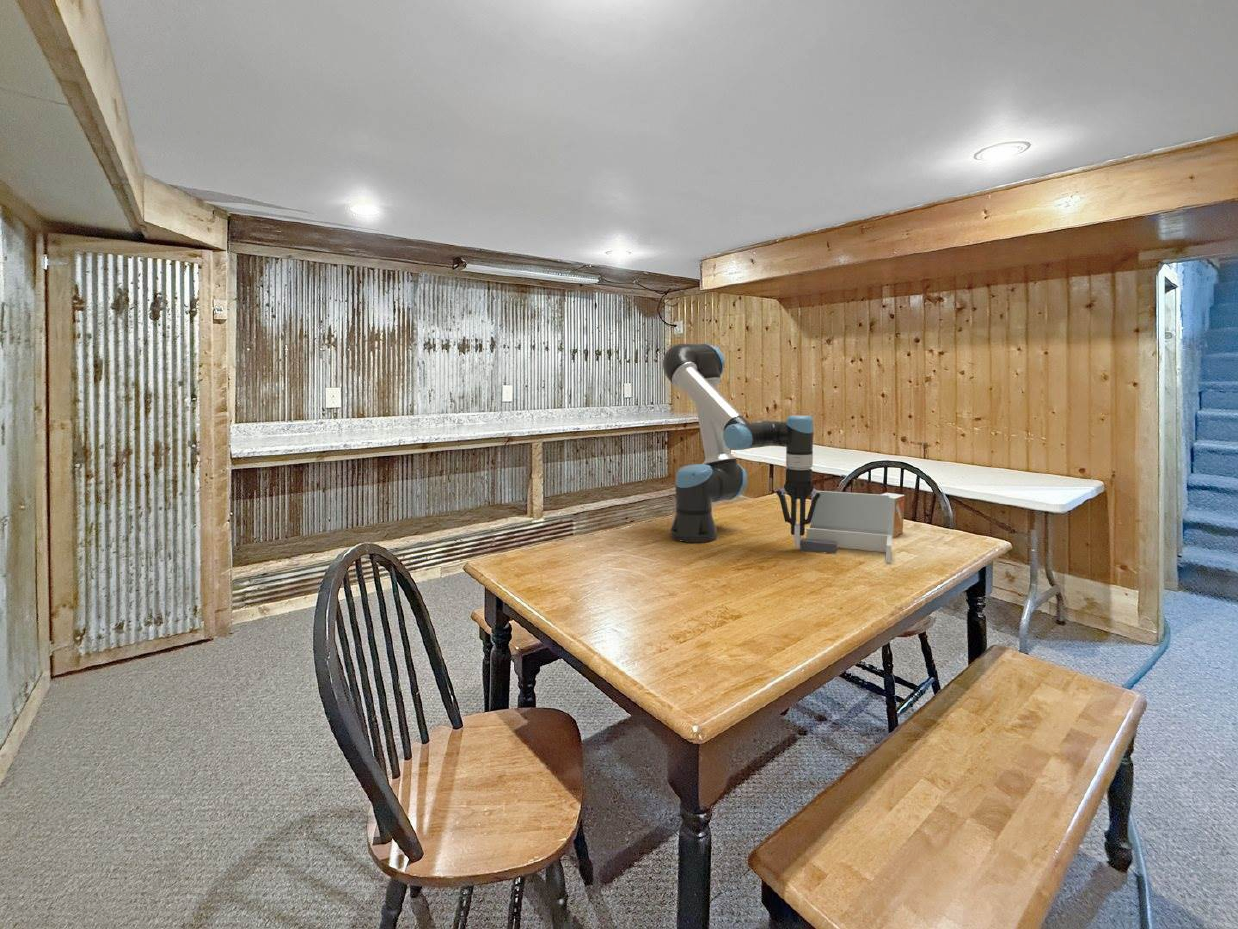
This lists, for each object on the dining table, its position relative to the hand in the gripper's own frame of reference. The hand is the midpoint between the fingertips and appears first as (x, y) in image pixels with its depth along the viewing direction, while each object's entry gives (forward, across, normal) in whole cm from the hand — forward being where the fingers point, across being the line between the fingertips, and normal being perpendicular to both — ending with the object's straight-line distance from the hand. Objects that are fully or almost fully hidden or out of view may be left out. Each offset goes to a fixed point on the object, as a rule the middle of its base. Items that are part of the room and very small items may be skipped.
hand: (797, 545), depth 176 cm
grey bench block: (+1, +13, +4) cm, 14 cm away
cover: (-10, +14, +7) cm, 18 cm away
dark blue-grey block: (+2, +6, +2) cm, 6 cm away
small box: (+2, +24, +30) cm, 39 cm away
